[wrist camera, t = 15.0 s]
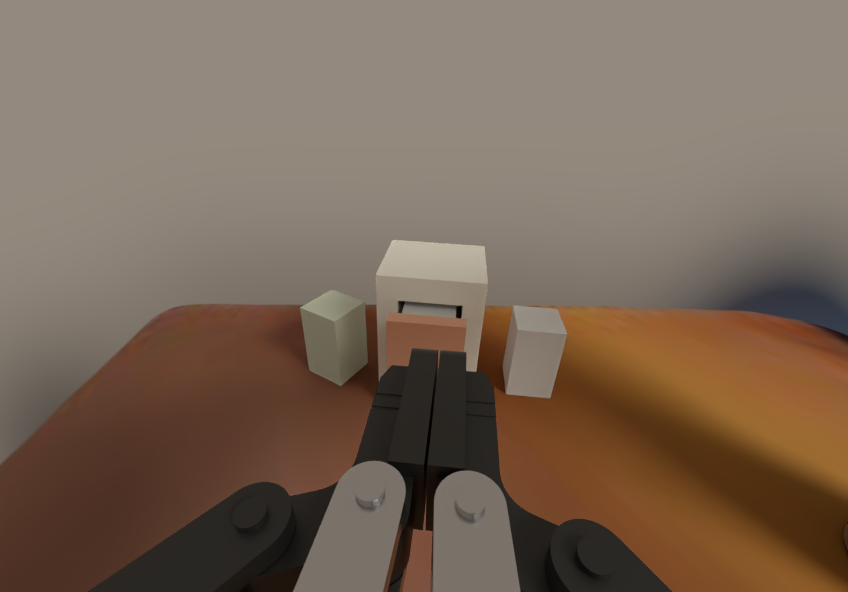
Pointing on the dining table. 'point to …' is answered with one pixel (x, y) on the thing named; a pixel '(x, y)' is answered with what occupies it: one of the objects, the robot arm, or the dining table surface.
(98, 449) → the dining table surface
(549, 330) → the grey block
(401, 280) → the cream box with panel
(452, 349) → the button
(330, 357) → the sage block
